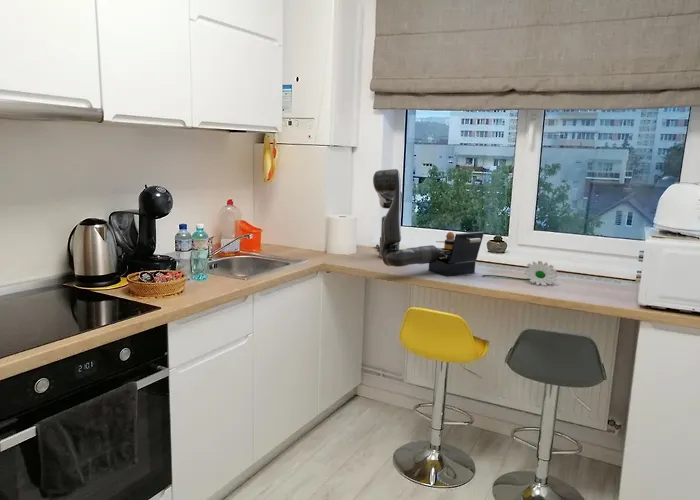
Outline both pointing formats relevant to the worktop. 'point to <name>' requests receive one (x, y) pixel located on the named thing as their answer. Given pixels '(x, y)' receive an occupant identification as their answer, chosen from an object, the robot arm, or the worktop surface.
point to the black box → (452, 268)
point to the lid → (466, 247)
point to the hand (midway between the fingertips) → (453, 251)
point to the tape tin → (448, 248)
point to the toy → (448, 237)
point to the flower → (537, 273)
